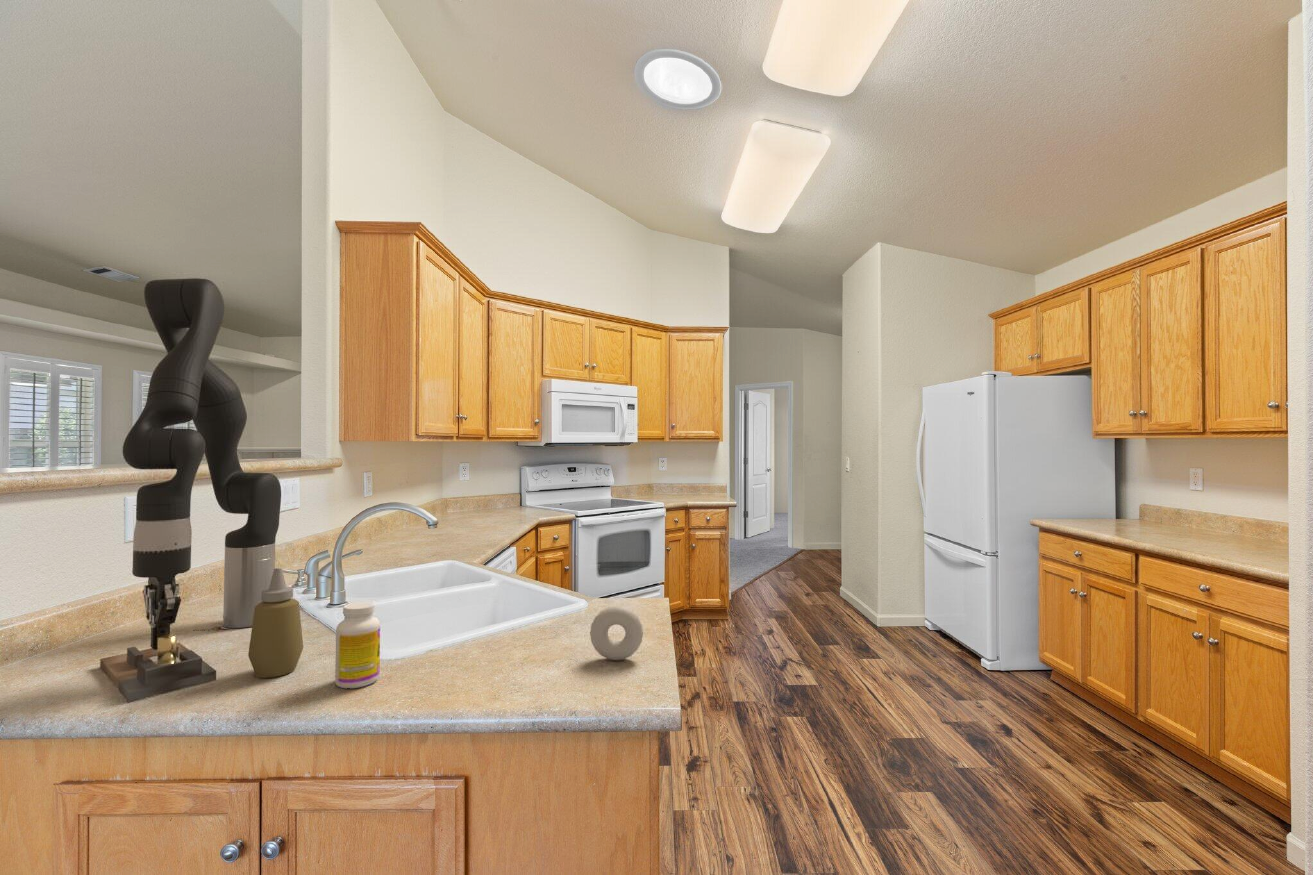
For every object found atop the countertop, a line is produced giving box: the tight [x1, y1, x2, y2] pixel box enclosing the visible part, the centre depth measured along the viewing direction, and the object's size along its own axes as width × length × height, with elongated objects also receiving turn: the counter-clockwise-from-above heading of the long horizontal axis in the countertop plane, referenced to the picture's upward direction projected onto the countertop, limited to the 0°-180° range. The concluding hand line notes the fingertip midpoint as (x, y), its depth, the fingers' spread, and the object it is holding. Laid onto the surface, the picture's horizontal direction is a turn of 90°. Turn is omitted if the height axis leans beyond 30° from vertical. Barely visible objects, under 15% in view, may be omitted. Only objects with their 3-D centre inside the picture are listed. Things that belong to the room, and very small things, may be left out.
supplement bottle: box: [334, 601, 381, 689], centre depth 97 cm, size 7×7×13 cm
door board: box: [99, 642, 217, 703], centre depth 99 cm, size 11×22×4 cm, turn 52°
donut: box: [589, 605, 644, 661], centre depth 108 cm, size 10×4×10 cm, turn 90°
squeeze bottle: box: [247, 567, 304, 679], centre depth 100 cm, size 8×8×18 cm
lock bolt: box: [149, 633, 181, 667], centre depth 95 cm, size 3×8×6 cm, turn 52°
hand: (159, 647), depth 97 cm, fingers closed
